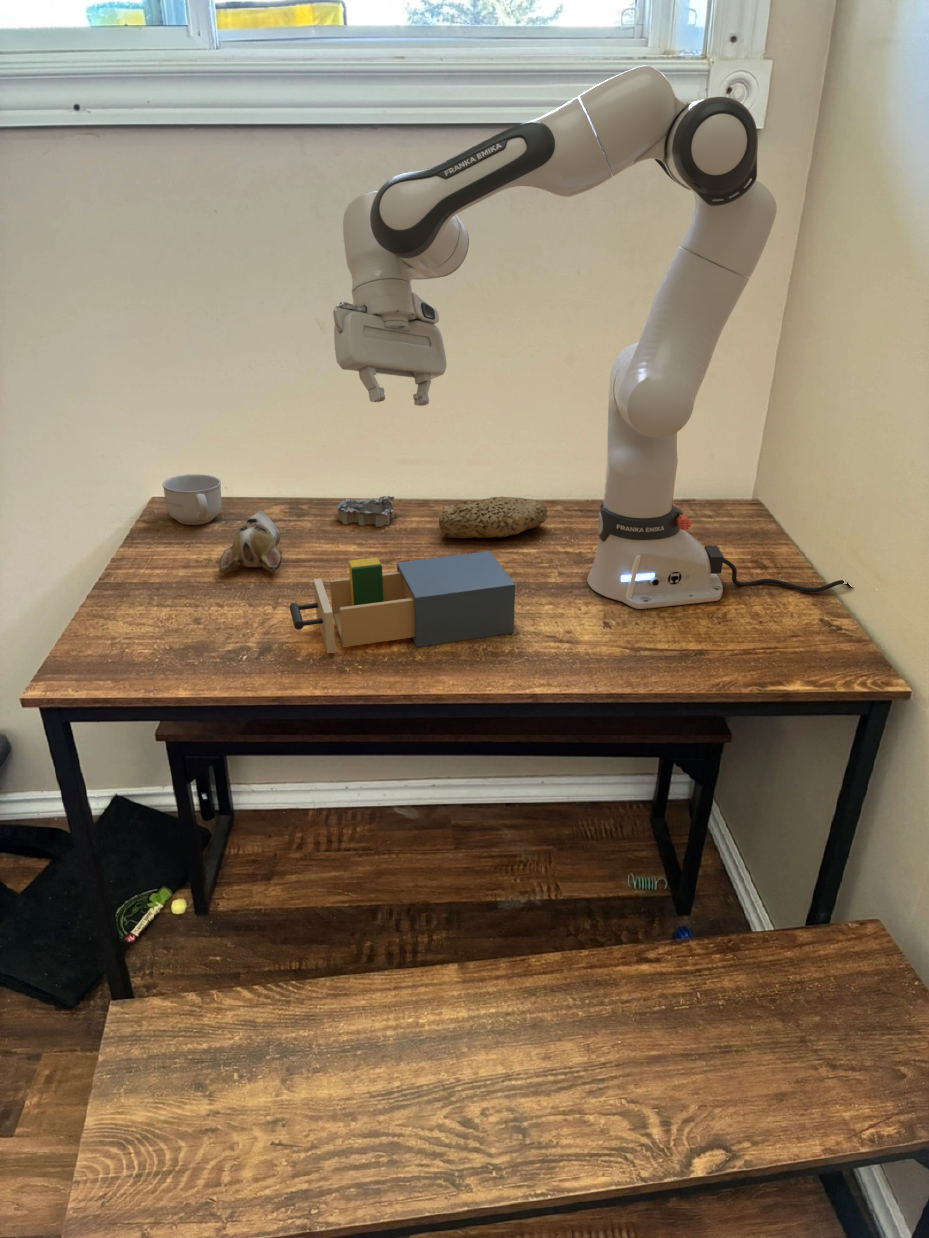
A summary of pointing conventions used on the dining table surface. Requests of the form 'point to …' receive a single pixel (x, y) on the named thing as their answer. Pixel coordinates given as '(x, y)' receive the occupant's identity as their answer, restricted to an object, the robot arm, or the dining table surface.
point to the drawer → (360, 613)
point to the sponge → (491, 517)
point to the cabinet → (459, 597)
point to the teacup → (193, 498)
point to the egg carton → (366, 511)
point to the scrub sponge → (366, 581)
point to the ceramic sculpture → (254, 545)
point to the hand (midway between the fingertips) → (400, 403)
